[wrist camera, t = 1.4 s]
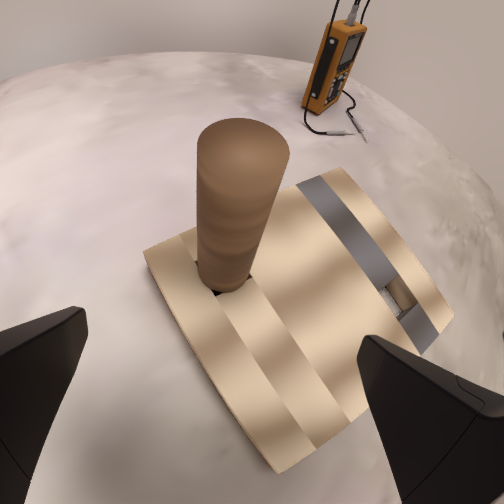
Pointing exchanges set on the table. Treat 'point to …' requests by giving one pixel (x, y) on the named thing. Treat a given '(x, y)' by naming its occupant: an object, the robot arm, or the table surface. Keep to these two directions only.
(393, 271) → the board
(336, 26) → the multimeter
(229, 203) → the brown round-topped cylinder
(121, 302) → the table surface
